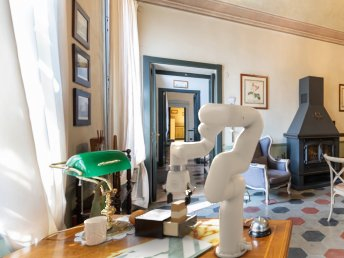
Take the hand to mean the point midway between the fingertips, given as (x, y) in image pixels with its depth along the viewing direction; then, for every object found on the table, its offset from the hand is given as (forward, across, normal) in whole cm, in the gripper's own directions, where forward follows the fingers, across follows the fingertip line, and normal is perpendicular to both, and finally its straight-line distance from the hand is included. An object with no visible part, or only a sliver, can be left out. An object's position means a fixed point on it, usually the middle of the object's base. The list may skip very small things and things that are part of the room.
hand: (178, 203), depth 112 cm
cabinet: (+14, -11, 0) cm, 18 cm away
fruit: (+15, -28, +5) cm, 32 cm away
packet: (+12, 0, 0) cm, 12 cm away
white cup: (+15, -30, -15) cm, 37 cm away
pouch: (+15, -40, -5) cm, 43 cm away
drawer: (+13, +2, 0) cm, 13 cm away
